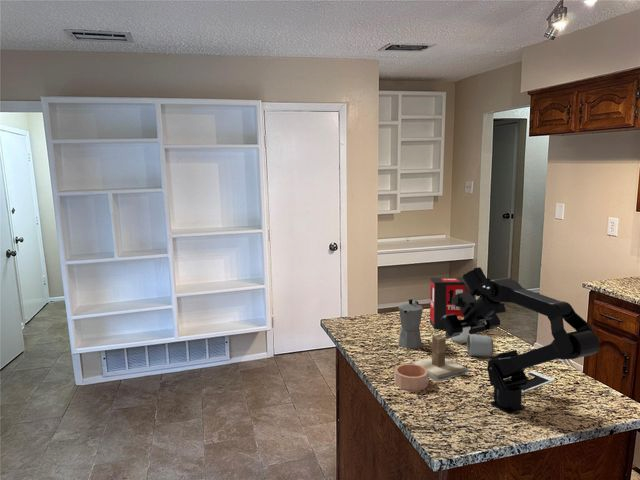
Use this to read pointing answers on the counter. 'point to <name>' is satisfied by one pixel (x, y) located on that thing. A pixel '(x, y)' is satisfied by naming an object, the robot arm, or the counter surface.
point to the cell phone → (536, 381)
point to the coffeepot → (410, 324)
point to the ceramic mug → (479, 345)
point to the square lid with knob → (439, 360)
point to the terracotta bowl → (411, 377)
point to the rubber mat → (448, 375)
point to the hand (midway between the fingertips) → (458, 335)
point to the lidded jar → (464, 334)
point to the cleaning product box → (444, 298)
